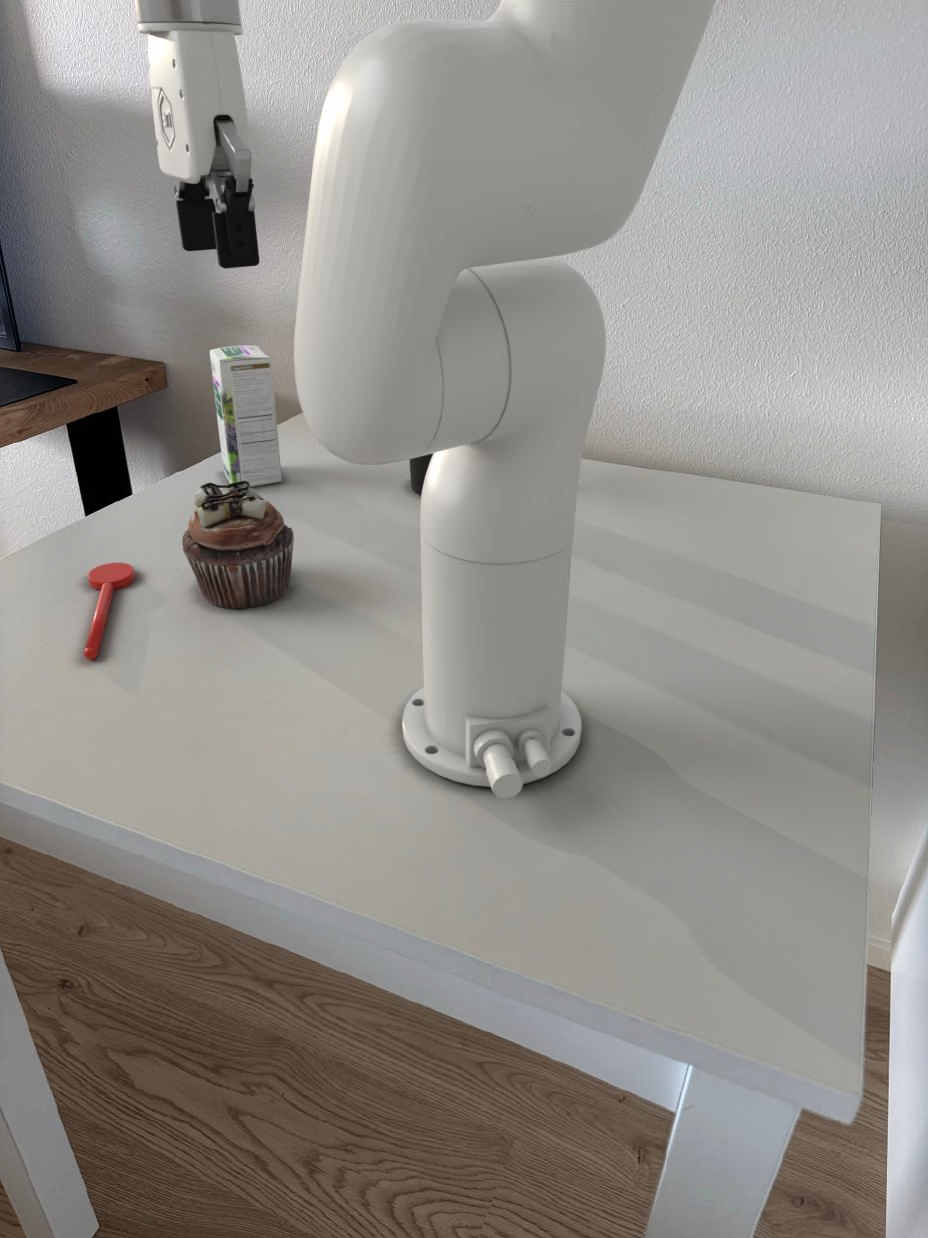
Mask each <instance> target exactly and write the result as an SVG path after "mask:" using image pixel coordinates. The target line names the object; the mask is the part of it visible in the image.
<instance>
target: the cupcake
mask: <svg viewBox="0 0 928 1238" xmlns="http://www.w3.org/2000/svg"><path fill="white" fill-rule="evenodd" d="M249 486H250V484H249V482H247V481H240V482H234V483H232V484H231V483H229V484H227V485H225V484H221V485H220V484H216V483H213V482H206V483H204V484H202V485H201V486H199V488H200V489H199V490H198V491H195V493H193V504H194V505H195V507H196V508H195V509H194V510H193V511H192V513H191V515H190V517H189V520H188V527H187V529H186V530H185V532H184V533H183V535H182V541H181V543H182V552H183V554H184V556H185V557H186V560H187V562H188V564H189V566H190V567H191V570H192V572H193V574H194V576H195V579H196V582H197V585H198V588H199V590H200V593H201V595H202V597H204V599H205V600H206V601H207V602H208V603H210V604H211V605H212V606H215V607H219V608H221V609H228V610H230V609H234V610H245V609H249V608H258V607H261V606H266V605H269V604H271V603H273V602H274V601H277V600H279V599H280V598H282V596H283V595H285V594H286V592H287V591H288V590H289V586H290V583H291V577H292V576H291V575H292V565H293V552H294V545H295V544H294V543H295V537H294V531H293V528H292V527H288V525H286V524H285V521H284V517H283V515H282V514H281V512H280V511H279V510H278V509H277V508H276V506H275V505H273V504H272V503H271V502H270V501H269V500H267V499H265V498H263V497H262V496H261V494H260V493H259V492H258V491H256V490H255V489H253V488H251V487H249ZM231 488H232V489H231ZM222 489H229V490H228V492H226V493H223V492H222Z"/></svg>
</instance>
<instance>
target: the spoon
mask: <svg viewBox="0 0 928 1238" xmlns="http://www.w3.org/2000/svg"><path fill="white" fill-rule="evenodd" d="M135 578H136V574H135V569H134V567H133V566H132V565H131V564H128V563H126V562H109V563H104V564H101V565H98V566H96V567H94V568H92V569H91V570H89V572H88V573H87V580H88V583H89V586H90V587H91V588H92V589H95V590H99V591H100V593H99V596H98V600H97V604H96V607H95V610H94V614H93V618H92V621H91V624H90V629H89V632H88V636H87V640H86V643H85V647H84V650H83V656H84V658H86V659H87V660H95V658H97V657H98V653H99V649H100V645H101V642H102V638H103V634H104V629H105V625H106V621H107V618H108V614H109V610H110V605H111V602H112V598H113V595H114V590H117V589H123V588H124V587H127V586H128V585H130V584H131V583H133V582H134V580H135Z"/></svg>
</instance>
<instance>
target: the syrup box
mask: <svg viewBox="0 0 928 1238" xmlns="http://www.w3.org/2000/svg"><path fill="white" fill-rule="evenodd" d="M209 359H210V364H211V373H212V374H211V375H212V384H213V393H214V401H215V402H214V403H215V410H216V411H215V412H216V419H217V420H216V421H217V427H218V436H219V444H220V453H221V460H222V468H223V473H224V475H225V477H226V479H227V480H228V482H229V484H232V483H234V482H240V481H247V482H249V484H250V486H249V487H250V488H251V487H257V486H265V485H269V484H274V483H281V482H282V481H283V479H282V478H283V477H282V465H281V454H280V443H279V432H278V422H277V409H276V398H275V387H274V377H273V367H272V358H271V356H270V355H268V354H267V353H266V352H265V350H263V349H262V348H261V347H260V346H258V345H232V346H231V345H230V346H223V347H218V348H213V349H210V350H209Z"/></svg>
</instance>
